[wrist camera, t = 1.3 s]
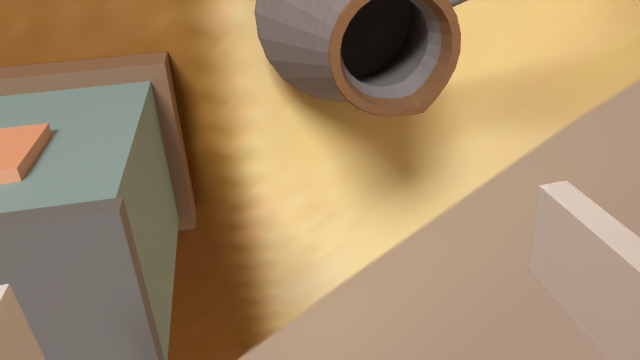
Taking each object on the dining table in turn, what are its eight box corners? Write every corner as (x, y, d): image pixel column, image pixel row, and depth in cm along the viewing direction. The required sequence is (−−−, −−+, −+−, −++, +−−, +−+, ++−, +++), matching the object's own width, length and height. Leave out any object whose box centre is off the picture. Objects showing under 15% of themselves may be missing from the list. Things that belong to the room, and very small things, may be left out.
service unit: (-135, 80, 33) (-522, 282, 15) (167, 51, 35) (131, 196, 18) (-60, 243, 38) (-281, 527, 21) (196, 208, 41) (190, 434, 23)
